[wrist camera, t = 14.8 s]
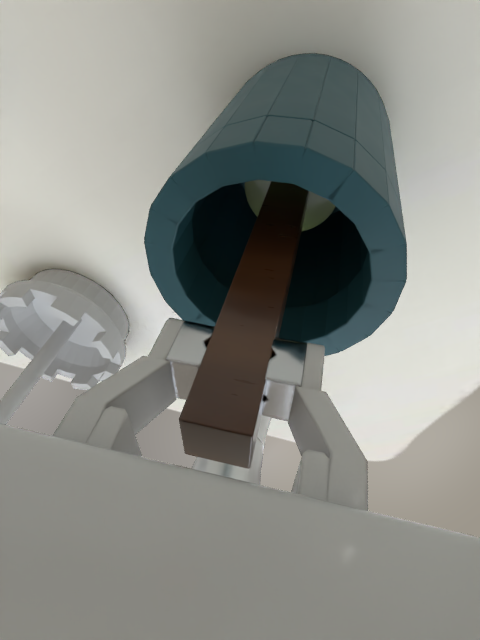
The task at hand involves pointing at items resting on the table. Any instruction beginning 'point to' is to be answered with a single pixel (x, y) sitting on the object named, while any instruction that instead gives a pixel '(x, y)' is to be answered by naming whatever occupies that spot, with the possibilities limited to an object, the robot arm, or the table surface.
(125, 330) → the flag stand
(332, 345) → the jar
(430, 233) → the table surface
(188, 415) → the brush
